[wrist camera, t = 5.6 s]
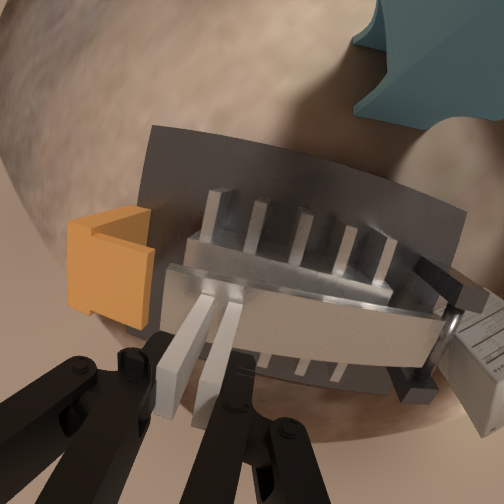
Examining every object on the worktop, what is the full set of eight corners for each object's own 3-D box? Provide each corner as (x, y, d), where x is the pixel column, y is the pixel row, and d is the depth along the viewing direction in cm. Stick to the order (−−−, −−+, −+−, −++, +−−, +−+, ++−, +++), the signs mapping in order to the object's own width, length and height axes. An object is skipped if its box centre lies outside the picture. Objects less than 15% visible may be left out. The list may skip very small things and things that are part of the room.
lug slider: (131, 204, 23) (67, 221, 15) (195, 220, 23) (148, 244, 15) (124, 269, 25) (68, 306, 17) (183, 287, 24) (141, 337, 16)
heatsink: (159, 127, 23) (105, 110, 14) (458, 210, 21) (516, 227, 13) (133, 325, 28) (91, 370, 20) (383, 386, 27) (403, 442, 19)
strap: (174, 244, 16) (167, 252, 14) (456, 303, 17) (468, 313, 16) (163, 333, 17) (157, 346, 16) (424, 368, 19) (432, 379, 17)
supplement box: (483, 338, 24) (539, 401, 12) (433, 363, 25) (479, 442, 13) (485, 284, 23) (559, 339, 10) (430, 309, 24) (496, 386, 12)
